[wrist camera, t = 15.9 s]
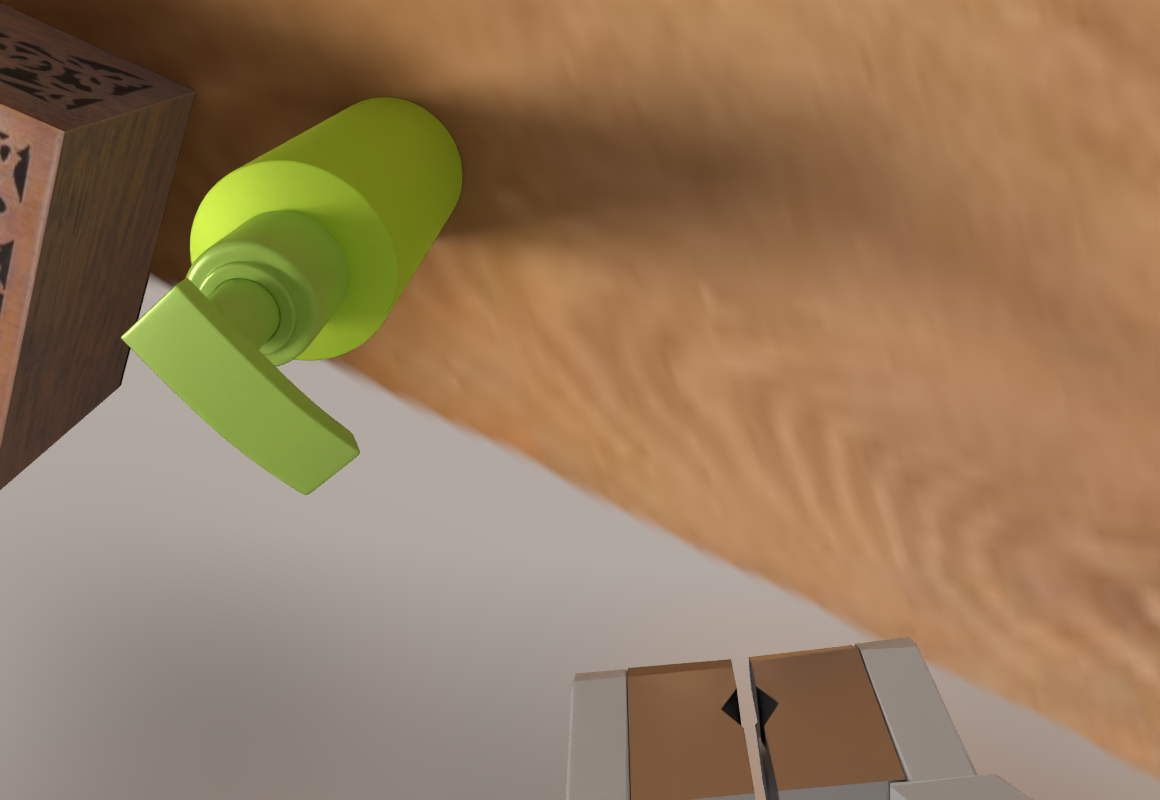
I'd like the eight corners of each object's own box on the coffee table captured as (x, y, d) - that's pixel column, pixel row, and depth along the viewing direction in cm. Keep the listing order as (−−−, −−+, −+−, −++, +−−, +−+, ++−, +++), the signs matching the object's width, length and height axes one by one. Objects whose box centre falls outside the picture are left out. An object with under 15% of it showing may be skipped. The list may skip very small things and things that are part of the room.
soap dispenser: (408, 286, 40) (243, 553, 22) (291, 161, 38) (-1, 342, 20) (508, 200, 38) (420, 413, 20) (392, 65, 36) (174, 166, 18)
